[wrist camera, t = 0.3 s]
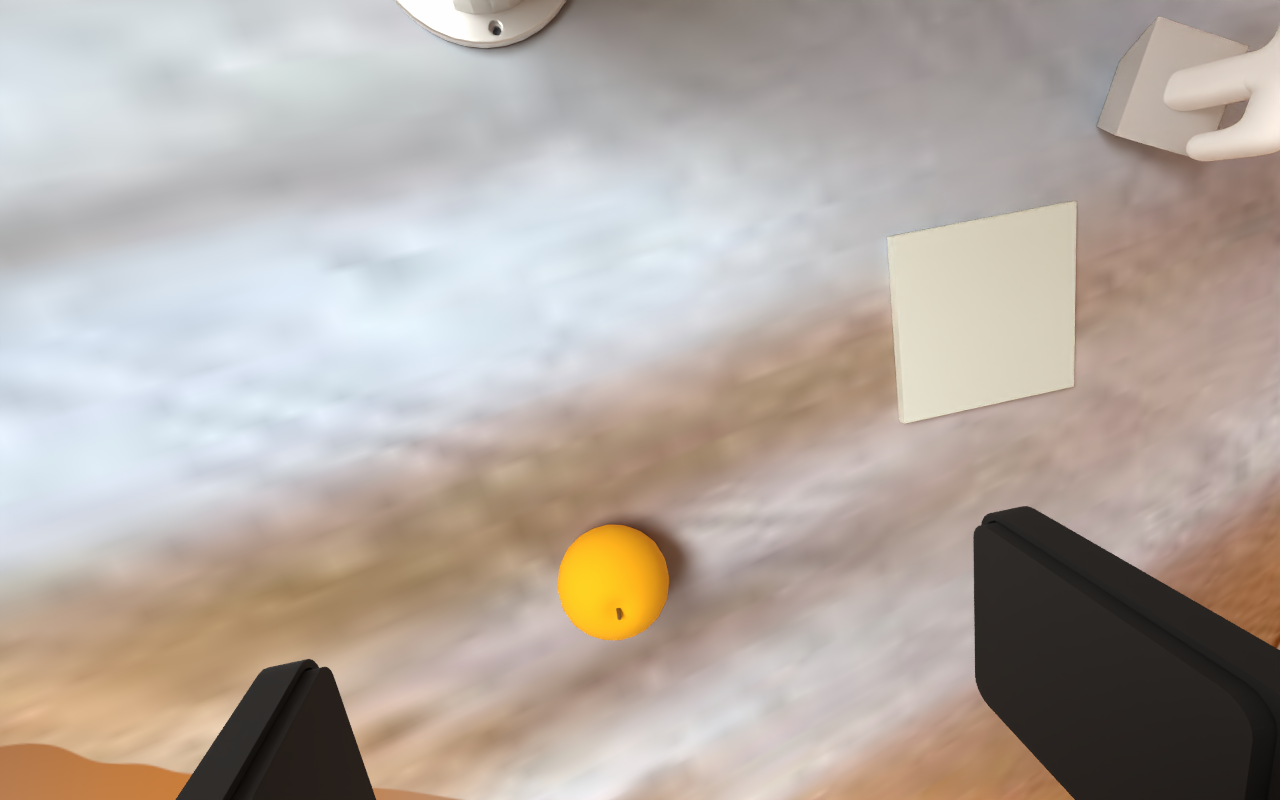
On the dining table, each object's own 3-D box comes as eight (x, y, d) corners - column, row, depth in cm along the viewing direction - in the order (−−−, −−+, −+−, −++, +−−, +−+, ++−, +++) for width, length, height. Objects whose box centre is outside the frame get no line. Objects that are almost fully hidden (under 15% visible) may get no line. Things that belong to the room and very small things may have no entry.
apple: (658, 505, 48) (677, 553, 41) (662, 596, 50) (681, 657, 43) (552, 516, 47) (552, 567, 40) (561, 608, 50) (563, 673, 42)
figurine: (1066, 159, 46) (1302, 125, 31) (1115, 15, 44) (1393, -91, 29) (1149, 181, 47) (1413, 160, 33) (1201, 44, 45) (1508, -45, 30)
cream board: (886, 236, 45) (892, 236, 45) (1068, 201, 46) (1076, 201, 46) (899, 420, 49) (904, 423, 48) (1066, 384, 50) (1074, 386, 50)
